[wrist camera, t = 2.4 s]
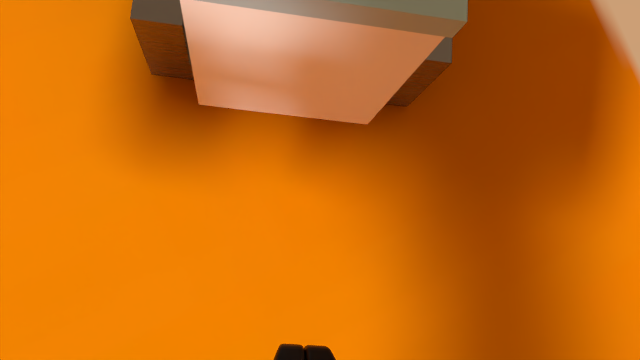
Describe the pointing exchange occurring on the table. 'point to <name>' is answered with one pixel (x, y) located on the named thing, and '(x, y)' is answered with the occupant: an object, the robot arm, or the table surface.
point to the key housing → (174, 59)
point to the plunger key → (312, 52)
